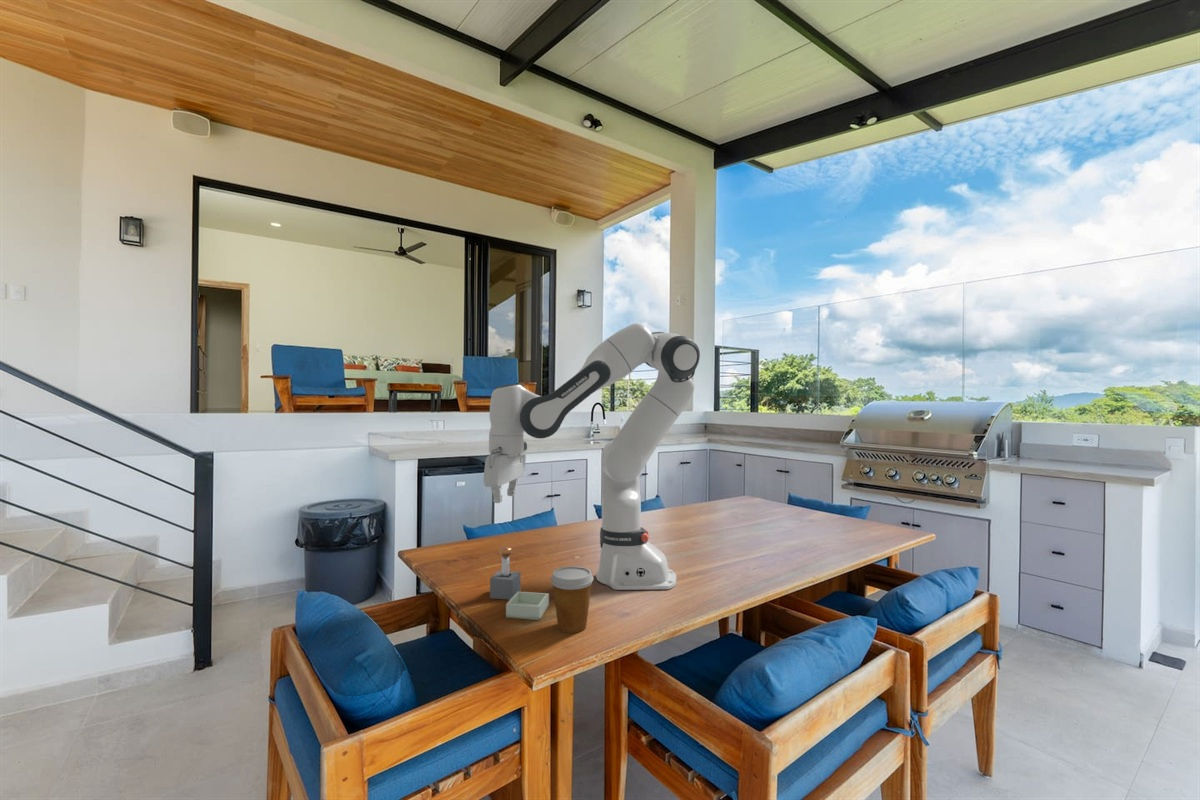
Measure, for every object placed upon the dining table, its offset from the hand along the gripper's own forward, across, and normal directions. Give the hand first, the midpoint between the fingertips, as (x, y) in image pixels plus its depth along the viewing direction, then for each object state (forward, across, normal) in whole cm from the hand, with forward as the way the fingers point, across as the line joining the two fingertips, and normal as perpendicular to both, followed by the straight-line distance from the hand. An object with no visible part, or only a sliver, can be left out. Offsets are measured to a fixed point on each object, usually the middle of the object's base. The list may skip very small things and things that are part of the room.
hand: (504, 498), depth 130 cm
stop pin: (+24, -1, -1) cm, 25 cm away
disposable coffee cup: (+24, -16, -22) cm, 37 cm away
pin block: (+24, -1, -1) cm, 25 cm away
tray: (+24, -10, -10) cm, 28 cm away
